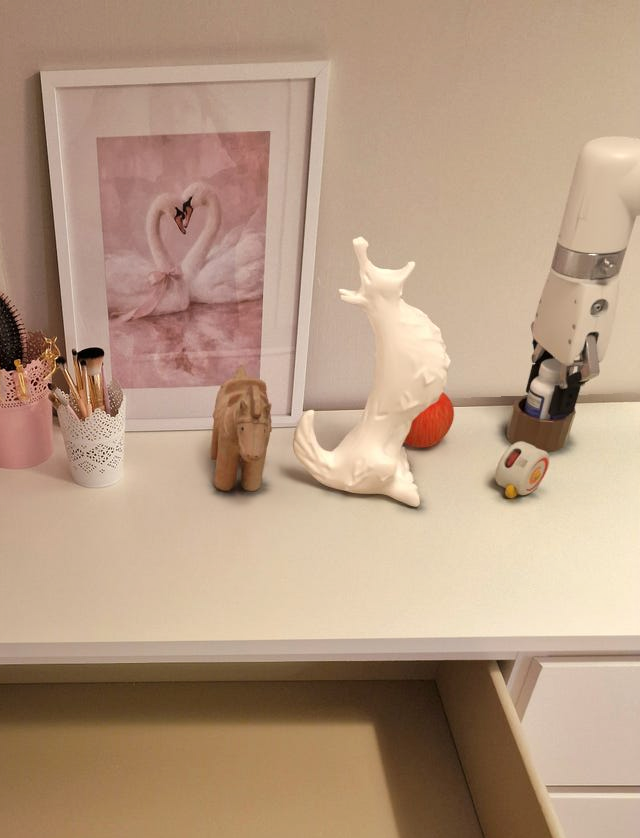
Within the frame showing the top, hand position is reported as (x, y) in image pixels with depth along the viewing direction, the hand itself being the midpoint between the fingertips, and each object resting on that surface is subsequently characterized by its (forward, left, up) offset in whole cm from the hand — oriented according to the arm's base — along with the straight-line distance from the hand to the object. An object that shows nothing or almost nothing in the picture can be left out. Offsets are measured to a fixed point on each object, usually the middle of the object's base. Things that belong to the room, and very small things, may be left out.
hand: (548, 401), depth 113 cm
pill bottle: (0, 0, -4) cm, 4 cm away
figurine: (+41, +2, -6) cm, 42 cm away
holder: (0, 0, -5) cm, 5 cm away
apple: (+16, -3, -5) cm, 17 cm away
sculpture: (+27, +6, -5) cm, 28 cm away
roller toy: (+8, +11, -6) cm, 15 cm away
